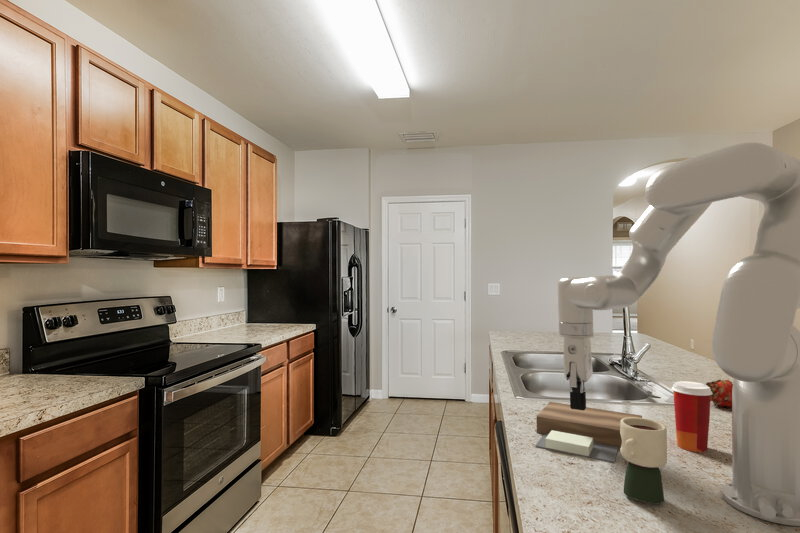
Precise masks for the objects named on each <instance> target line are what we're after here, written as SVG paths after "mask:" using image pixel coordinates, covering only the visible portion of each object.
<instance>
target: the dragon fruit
mask: <svg viewBox="0 0 800 533" xmlns="http://www.w3.org/2000/svg"><path fill="white" fill-rule="evenodd" d="M705 385H707V386H708V387H710V389H711V391H712V393H713V394H712V395H711V400H710V402H712V403H713V405H714V406H715V407H717V408H720V409H722V408H723V407H725V406H726V407H727V408H731V409H732V389H733V382H732V381H731V380H729V379H725V380H724V379H717V380H712V381H710V382H709V381H708V382H705Z"/></svg>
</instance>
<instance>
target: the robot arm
mask: <svg viewBox="0 0 800 533" xmlns="http://www.w3.org/2000/svg"><path fill="white" fill-rule="evenodd" d="M644 196H645V199H646V201H647V202H648V204H649V205H648V206H647V207H646V209H645V210H644V211H643V212H642V214H641V215H640V216H639V217H638V219H637V220H636V221H635V223H634V224H633V225H632V226H631V227H630V229H629V232H628V236H629V239H630V240H631V243H632V251H631V253H630V255H629V257H628V259H627V261H626V262H625V263H624V265H623V266H622V267H621V268H620V270H618V272H617V273H616V274H614V275H611V274H610V275H595V276H588V277H585V276H582V277H581V276H577V277H571V276H569V277H562V278H560V279H559V280H558V281H557V282H558V283H557V300H558V301H557V305H558V306H557V309H558V310H557V312H558V336H559V337H563V374H564V379H565V380H566V381H569V405H570V408H571V409H575V410H585V409H586V407H587V396H586V395H587V394H586V393H587V392H586V382H588V381H589V380H591V377H592V376H593V360H592V344H591V338H593V337H594V313H593V312H594V311H607V310H608V311H610V310H616V309H617V310H618V309H619V310H620V309H624V308H628V307H630V306H632V305H633V304H635V303H636V302H638V300H640V299H641V297H642V296H643V295H644V294H645V293H646V292H647V291H648V289H649V288H651V286H652V285H653V284H654V283H655V281H656V280H657V278H658V277H659V275H660V273H661V271H662V269H663V267H664V265H665V263H666V261H667V260H666V259H667V256H668V255H669V253H670V251H672V249H673V248H674V247H675V246H676V245H677V244H678V243H679V241H681V239H682V238H683V236H684V235H686V233H687V232H688V231H689V230H690V229H691V227H692V226H693V225H695V223H696V222H698V220H699V219H700V218H701V217H702V215H704V213H706V211H707V210H708V209H709V207H710V206H711V205H712V204H713V203H716V202H719V201H724V200H728V199H734V198H739V197H740V198H746V199H749V200H754V201H758V202H760V203H761V204H763V207H764V208H763V209H764V212H763V215H762V218H761V220H760V222H759V225H758V228H757V232H756V241H755V244H754V249H753V252H752V254H751V255H748V256H745V257H744V258H742V259H740V260H739V261H737V262H736V263H735V264H734V265H733V266H732V267H731V268H730V269H729V271H728V272H727V274H726V276H725V278H724V281H723V284H722V287H721V292H720V296H719V297H720V298H719V303H718V307H717V311H716V312H717V313H716V318H715V323H714V328H713V333H712V339H711V352H712V356H713V360H714V362H715V363H716V365H717V366H718V367H719V368H720V369H721V370H722V372H723V373H725V374H726V375H727V376H729V377H731V378H732V379H733V380H732V381H733V382H732V384H733V389H732V407H731V428H732V429H731V432H732V434H731V437H732V439H731V443H732V444H731V445H732V450H731V451H732V452H731V453H732V455H731V456H732V457H731V458H732V461H731V462H732V464H731V465H732V466H731V467H732V469H731V470H732V481H731V482H727V483H724V484H723V485H722V487H721V496H722V498H723V499H724V500H725V502H727V504H729V505H730V506H731V507H733V508H735V509H737V510H739V511H741V512H742V513H745V514H747V515H750V516H751V517H753V518H758V519H760V520H764V521H767V522H771V523H776V524H780V525H784V526H793V527H800V331H799V329H798V328H796V327H795V326H794V321H795V319H796V313H797V310H798V309H800V159H799V158H796V157H795V156H793V155H790V154H788V153H786V152H783V151H782V150H780V149H777V148H774V147H772V146H770V145H767V144H764V143H761V142H753V141H750V142H741V143H737V144H732V145H729V146H725V147H722V148H719V149H716V150H713V151H709V152H706V153H703V154H700V155H696V156H693V157H690V158H686V159H684V160H683V159H682V160H680V161H679V160H678V161H676V162H674V163H673V162H672V163H671V164H668V165H666V166H664V167H661V168H660V169H658V170H657V171H655V172H654V173H653V174H652V176H651V177H650V178H649V179H648V181H647V182H646V186H645V191H644Z"/></svg>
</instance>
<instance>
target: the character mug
mask: <svg viewBox="0 0 800 533" xmlns="http://www.w3.org/2000/svg"><path fill="white" fill-rule="evenodd" d="M667 430H668V428H667V425H665V424H664V423H663V422H662V423H661V422H659V421H657V420H654V419H649V418H645V417H642V418H636V417H629V418H623V419H621V422H620V435H621V439H622V444H621V448H619V451H620V454H621V456H622V458H623V459H624V460H626V461H627V464H626V468H625V469H626V470H625V476H624V484H623V494H624V495H625V496H626V497H628V498H631V499H634V500H637V501H638V502H644V503H648V504H652V505H653V504H657V505H659V504H662V503H664V502H665V495H664V486H663V479H662V478H663V477H662V472H661V469H660V468H663V467H665V466H666V465H667V462H668V461H667V460H668V439H667V438H668V431H667Z"/></svg>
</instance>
